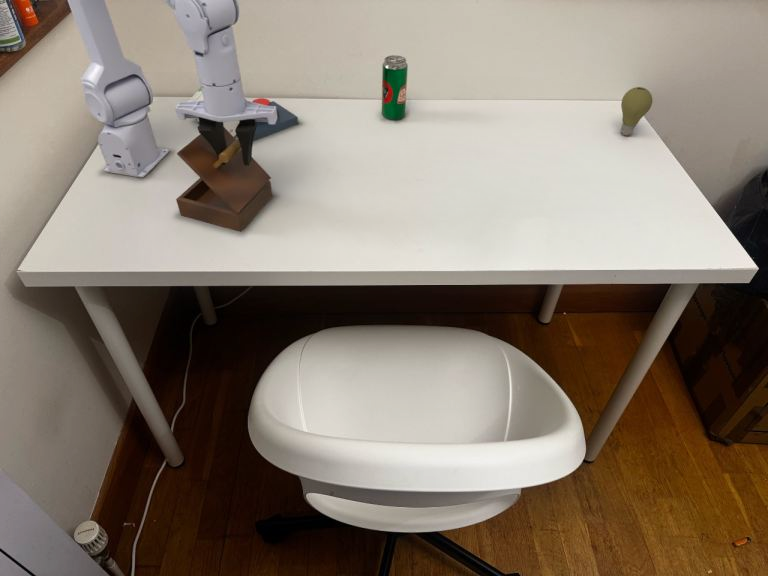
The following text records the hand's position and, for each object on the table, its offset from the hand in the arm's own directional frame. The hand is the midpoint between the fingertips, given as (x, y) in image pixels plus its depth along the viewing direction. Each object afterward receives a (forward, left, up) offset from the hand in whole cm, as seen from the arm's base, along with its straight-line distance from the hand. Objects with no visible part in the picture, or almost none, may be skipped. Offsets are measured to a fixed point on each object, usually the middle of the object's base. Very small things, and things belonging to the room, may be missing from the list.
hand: (236, 161), depth 89 cm
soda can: (+39, -17, -10) cm, 44 cm away
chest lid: (0, +2, -1) cm, 3 cm away
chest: (0, +3, -9) cm, 10 cm away
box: (+28, +8, -9) cm, 31 cm away
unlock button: (+28, +8, -6) cm, 30 cm away
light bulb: (+44, -65, -10) cm, 79 cm away
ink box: (+28, +21, -5) cm, 35 cm away
